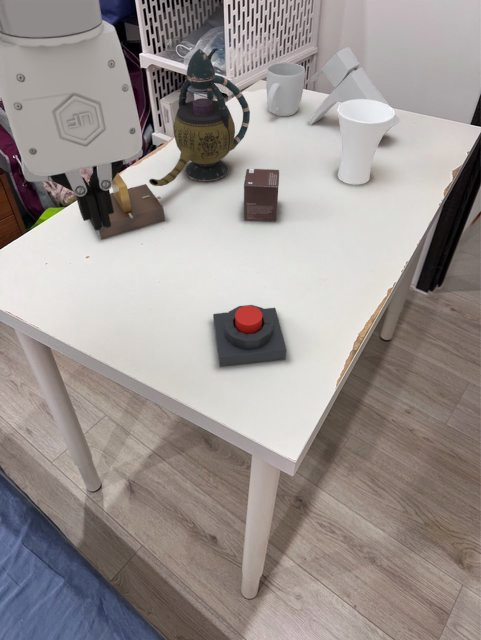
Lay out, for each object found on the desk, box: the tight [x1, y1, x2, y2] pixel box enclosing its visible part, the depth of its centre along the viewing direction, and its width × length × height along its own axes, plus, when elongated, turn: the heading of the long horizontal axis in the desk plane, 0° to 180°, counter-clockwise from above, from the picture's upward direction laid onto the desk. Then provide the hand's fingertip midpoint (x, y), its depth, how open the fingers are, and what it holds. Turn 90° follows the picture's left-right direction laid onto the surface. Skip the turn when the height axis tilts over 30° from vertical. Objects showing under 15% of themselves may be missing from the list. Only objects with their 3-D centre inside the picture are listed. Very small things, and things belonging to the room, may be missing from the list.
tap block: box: [96, 183, 166, 241], centre depth 85 cm, size 12×10×3 cm
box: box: [243, 168, 280, 223], centre depth 84 cm, size 6×6×7 cm
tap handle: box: [111, 172, 132, 213], centre depth 82 cm, size 6×1×5 cm, turn 28°
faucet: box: [309, 46, 401, 133], centre depth 107 cm, size 6×16×20 cm
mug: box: [265, 61, 306, 117], centre depth 113 cm, size 13×9×10 cm
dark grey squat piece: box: [212, 304, 287, 368], centre depth 64 cm, size 9×8×4 cm
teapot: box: [148, 48, 251, 187], centre depth 87 cm, size 12×25×23 cm, turn 146°
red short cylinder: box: [235, 305, 262, 334], centre depth 62 cm, size 4×4×2 cm
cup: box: [337, 99, 396, 186], centre depth 91 cm, size 10×10×14 cm
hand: (99, 221), depth 47 cm, fingers closed
